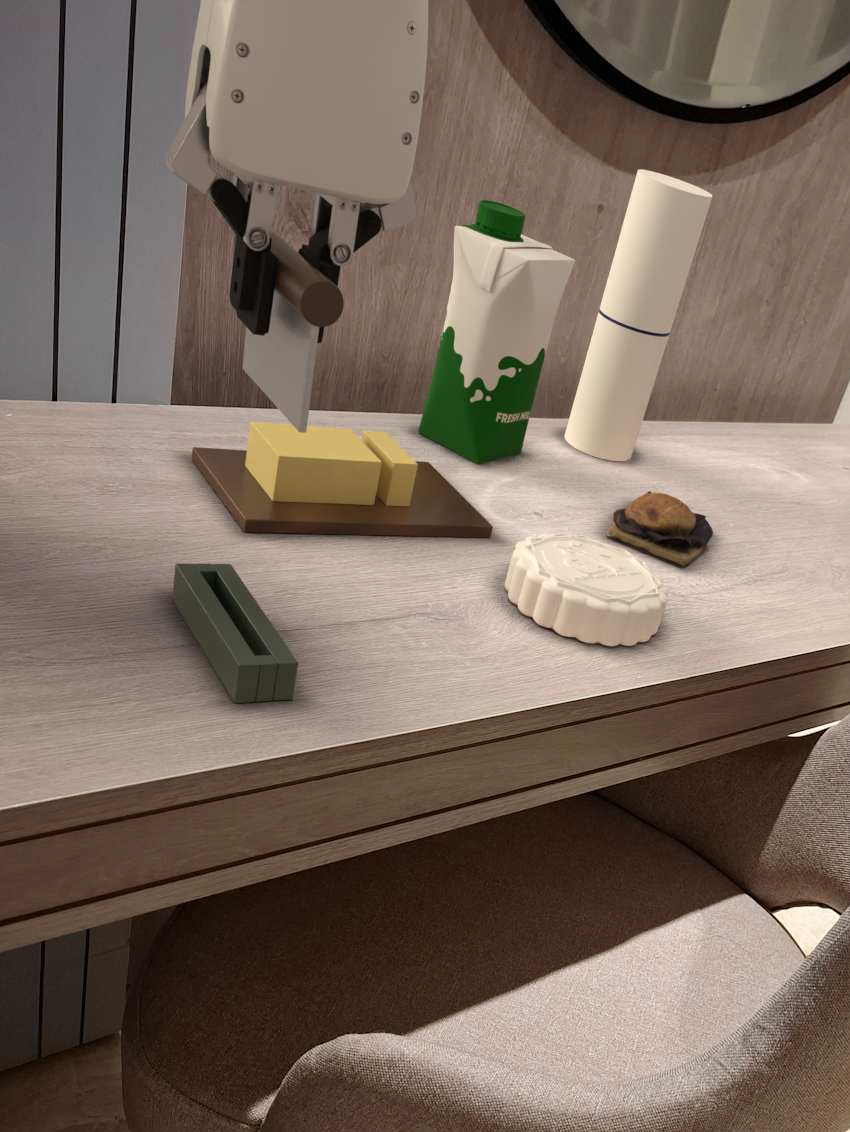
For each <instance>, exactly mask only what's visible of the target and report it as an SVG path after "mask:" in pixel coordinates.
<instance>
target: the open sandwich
mask: <svg viewBox="0 0 850 1132" xmlns="http://www.w3.org/2000/svg"><path fill="white" fill-rule="evenodd" d="M612 517H613V519H612V523H611V524H610V527H609V528H608V530H607V532H606V536H607V537H611V538H612V537H613V539H619V540H620V541H622V542H624V543H627V544H630V545H632V546H635V547H639V548H642V549H643V550H646V551H648V553H651V554H653V555H654V556H658V557H661V558H663V559H667V560H669V561H671V562H674V563H676V564H679V566H681V567H685V566H686V565H688V564H690V563H691V562H692V561H694V560H696V558H697V557H699V556H700V554H702V551H703V550H704V548H705V547H707V544H708V543H710V541H711V539H712V538H713V535H714V530H713V528H712V527H711V524H710V523H709V522H708V520H707V515H704V514H701V513H695V512H693V511H692V509H690V507H689V506H688V505H687V504H685V503H684V502H683V501H682V500H680V499H679V498H677V497H675V496H672V495H669V494H667V493H663V492H652V491H650V490H649V491H647V492H646V493H644V494H642V495H640V496H638V497H637V498H635V499H634V500H633V501H631V502H630V504H628V507H627V508H620V509H616V510H615V511H614V512H613V516H612Z"/></svg>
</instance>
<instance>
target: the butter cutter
mask: <svg viewBox="0 0 850 1132" xmlns="http://www.w3.org/2000/svg"><path fill="white" fill-rule="evenodd" d="M271 239H272V243H271V252H272V253H273V254H274V255H275V256H276V257H277V259H278V268H277V272H276V276H275V290H274V297H273V304H272V312H271V319H270V326H269V332H268V333H265V335H264V336H262V335H254V334H252V333H251V331H250V330H249V329H248V328H247V327H246V326H245V337H244V348H243V358H242V359H243V360H242V370H243V371H244V372H245V373H246V374H247V376H248V377H249V378H250V379H251V380H252V381H253V382H254V383H255V385H256V386H257V387H259V389H260V390H261V391H262V392H263V394H264V395H265V396H266V397H267V398H268V399H269V400H270V401H271V402H272V404H273V405H274V406H275V407H276V408H277V409H278V410H279V411H280V413H281V414H282V415H283V416H284V417H285V418H286V420H288V422H290V424H291V425H293V426H294V427H295V428H296V429H297V430H298V431H299V432H304V433H306V430H307V426H308V422H309V421H308V420H309V412H310V404H311V398H312V397H311V396H312V388H313V381H314V372H315V364H316V357H317V350H318V349H317V348H318V343H317V341H318V333H319V327H324V328H326V327H329V326H332V325H333V324H335V323H336V322H337V321H338V320H339V319H340V318H341V316H342V313H343V312H344V307H345V305H344V304H345V301H344V300H345V299H344V296H343V293H342V291H341V289H340V288H339V286H338V287H337V286H336V285H335V284H334V283H333V282H332V281H330V280H329V279H328V278H327V277H326V276H325V275H323V274H322V273H321V272H320V271H319V270H318V269H316V268H315V267H314V266H313V265H312V264H311V263H309V262H308V261H307V260H306V259H305V258H304V257H302V256H301V255H300V254H299V253H298V251H297V250H295V249H294V248H293V247H292V246H291V245H289V243H287V242H286V241H285V240H284V239H283V238H282V237H280V236H279V235H278V234H277V233H276V232H275V231H273V230H272V231H271ZM235 241H236V234H235V233H234V238H233V245H234V248H235Z"/></svg>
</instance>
